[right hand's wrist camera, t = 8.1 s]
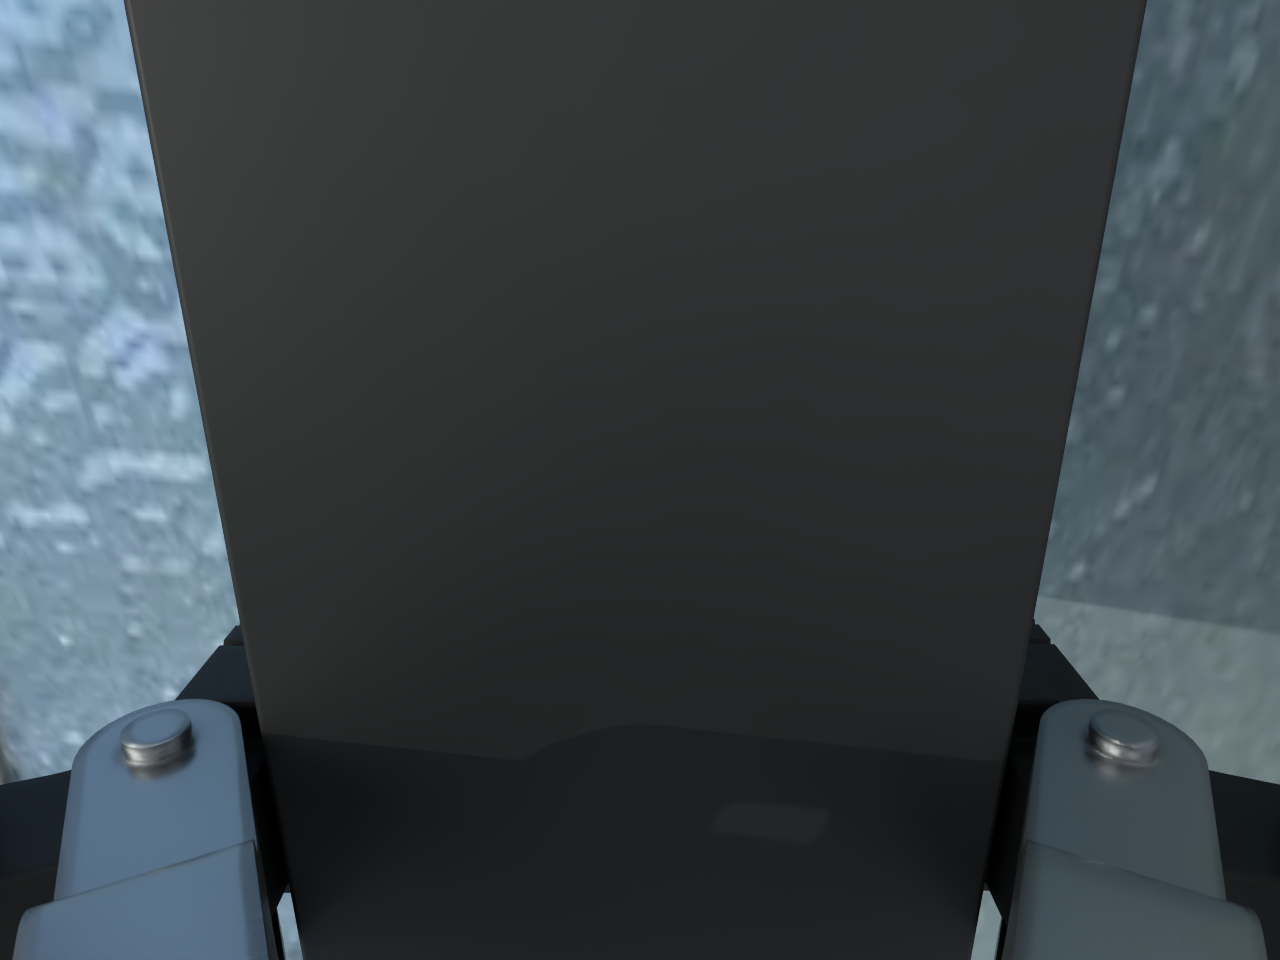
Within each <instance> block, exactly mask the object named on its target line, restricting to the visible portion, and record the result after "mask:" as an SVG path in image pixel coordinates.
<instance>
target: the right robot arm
mask: <svg viewBox="0 0 1280 960" xmlns="http://www.w3.org/2000/svg"><path fill="white" fill-rule="evenodd" d="M983 891H990V893H991V895H992V897H993V899H994V901H995V904H996V906H997V908H998V910H999V912H1000V914H1001V922H1000V927H999V932H998V937H997V944H996V950H995V957H994V960H1280V785H1279V784H1274V783H1269V782H1264V781H1259V780H1254V779H1249V778H1244V777H1239V776H1234V775H1229V774H1224V773H1219V772H1215V771H1211V770H1209V769H1208V764H1207V761H1206V757H1205V756H1204V754H1203V752H1202V751H1201V749H1200V748H1199V747H1198V746H1197V744H1196V743H1195V742H1194V741H1193V740H1192V739H1191V738H1190V737H1189V736H1187V735H1186V734H1185V733H1184V732H1183V731H1181V730H1180V729H1178V728H1177V727H1175V726H1174V725H1172V724H1171V723H1169V722H1167V721H1165V720H1163V719H1162V718H1160V717H1157V716H1155V715H1153V714H1151V713H1149V712H1146V711H1143V710H1141V709H1138V708H1135V707H1132V706H1128V705H1125V704H1121V703H1117V702H1111V701H1106V700H1099V699H1098V697H1097V696H1096V695H1095V694H1094V692H1093V691H1092V690H1091V689H1090V687H1089V686H1088V685H1087V684H1086V682H1085V681H1084V680H1083V679H1082V678H1081V676H1080V675H1079V674H1078V673H1077V671H1076V670H1075V669H1074V668H1073V666H1072V665H1071V664H1070V663H1069V661H1068V660H1067V659H1066V658H1065V657H1064V655H1063V654H1062V653H1061V652H1060V650H1059V649H1058V648H1057V647H1056V645H1055V644H1051V643H1050V638H1049V637H1048V636H1047V634H1046V633H1045V632H1044V631H1043V629H1042V628H1041V627H1040V626H1039V624H1035V620H1034V618H1033V623H1032V628H1031V634H1030V639H1029V644H1028V650H1027V655H1026V661H1025V666H1024V672H1023V677H1022V683H1021V688H1020V693H1019V699H1018V704H1017V710H1016V715H1015V721H1014V726H1013V731H1012V737H1011V742H1010V748H1009V753H1008V759H1007V764H1006V770H1005V775H1004V780H1003V786H1002V791H1001V797H1000V802H999V808H998V813H997V819H996V824H995V829H994V835H993V840H992V846H991V851H990V857H989V862H988V868H987V873H986V878H985V884H984V889H983ZM283 893H291V891H290V886H289V881H288V875H287V870H286V865H285V859H284V854H283V849H282V843H281V838H280V833H279V827H278V822H277V817H276V811H275V806H274V800H273V795H272V790H271V784H270V779H269V774H268V768H267V763H266V758H265V752H264V747H263V742H262V736H261V731H260V726H259V720H258V715H257V710H256V704H255V699H254V694H253V688H252V683H251V678H250V672H249V667H248V662H247V656H246V651H245V646H244V640H243V635H242V629H241V624H240V625H239V626H235V627H234V629H233V630H232V631H231V632H230V633H229V635H228V636H227V637H226V638H225V640H224V645H223V646H219V647H218V648H217V649H216V651H215V652H214V653H213V654H212V655H211V657H210V658H209V659H208V660H207V662H206V663H205V664H204V665H203V666H202V668H201V669H200V670H199V671H198V672H197V674H196V675H195V676H194V677H193V679H192V680H191V681H190V682H189V683H188V685H187V686H186V687H185V688H184V690H183V691H182V692H181V693H180V694H179V696H178V697H177V698H176V699H175V700H174V701H168V702H163V703H159V704H155V705H152V706H148V707H145V708H142V709H139V710H137V711H134V712H131V713H129V714H127V715H125V716H123V717H120V718H118V719H117V720H115V721H113V722H111V723H110V724H108V725H106V726H105V727H103V728H102V729H100V730H99V731H98V732H96V733H95V734H94V735H93V736H92V737H90V738H89V739H88V740H87V741H86V742H85V743H84V745H83V746H82V747H81V748H80V749H79V751H78V753H77V754H76V756H75V758H74V761H73V765H72V770H69V771H65V772H61V773H57V774H53V775H48V776H43V777H38V778H33V779H28V780H23V781H18V782H13V783H8V784H3V785H0V960H286V956H285V949H284V943H283V936H282V931H281V926H280V921H279V916H278V911H277V906H278V904H279V902H280V900H281V898H282V895H283Z"/></svg>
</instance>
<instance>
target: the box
mask: <svg viewBox="0 0 1280 960" xmlns="http://www.w3.org/2000/svg"><path fill="white" fill-rule="evenodd" d="M1146 2H1147V0H124V4H125V10H126V15H127V20H128V26H129V31H130V36H131V42H132V47H133V52H134V58H135V63H136V68H137V74H138V79H139V84H140V90H141V95H142V100H143V106H144V111H145V117H146V122H147V127H148V133H149V138H150V143H151V149H152V154H153V159H154V165H155V170H156V175H157V181H158V186H159V191H160V197H161V202H162V207H163V213H164V218H165V223H166V229H167V234H168V239H169V245H170V250H171V255H172V261H173V266H174V271H175V277H176V282H177V288H178V293H179V298H180V304H181V309H182V314H183V320H184V325H185V330H186V336H187V341H188V346H189V352H190V357H191V362H192V368H193V373H194V378H195V384H196V389H197V394H198V400H199V405H200V410H201V416H202V421H203V426H204V432H205V437H206V442H207V448H208V453H209V459H210V464H211V469H212V475H213V480H214V485H215V491H216V496H217V501H218V507H219V512H220V517H221V523H222V528H223V533H224V539H225V544H226V549H227V555H228V560H229V565H230V571H231V576H232V581H233V587H234V592H235V597H236V603H237V608H238V613H239V619H240V624H241V629H242V635H243V640H244V646H245V651H246V656H247V662H248V667H249V672H250V678H251V683H252V688H253V694H254V699H255V704H256V710H257V715H258V720H259V726H260V731H261V736H262V742H263V747H264V752H265V758H266V763H267V768H268V774H269V779H270V784H271V790H272V795H273V800H274V806H275V811H276V817H277V822H278V827H279V833H280V838H281V843H282V849H283V854H284V859H285V865H286V870H287V875H288V881H289V886H290V891H291V897H292V902H293V907H294V913H295V918H296V923H297V929H298V934H299V939H300V945H301V950H302V955H303V960H971V955H972V949H973V944H974V938H975V933H976V927H977V922H978V916H979V911H980V906H981V900H982V895H983V889H984V884H985V878H986V873H987V868H988V862H989V857H990V851H991V846H992V840H993V835H994V829H995V824H996V819H997V813H998V808H999V802H1000V797H1001V791H1002V786H1003V780H1004V775H1005V770H1006V764H1007V759H1008V753H1009V748H1010V742H1011V737H1012V731H1013V726H1014V721H1015V715H1016V710H1017V704H1018V699H1019V693H1020V688H1021V683H1022V677H1023V672H1024V666H1025V661H1026V655H1027V650H1028V644H1029V639H1030V634H1031V628H1032V623H1033V617H1034V612H1035V606H1036V601H1037V595H1038V590H1039V585H1040V579H1041V574H1042V568H1043V563H1044V557H1045V552H1046V546H1047V541H1048V536H1049V530H1050V525H1051V519H1052V514H1053V508H1054V503H1055V498H1056V492H1057V487H1058V481H1059V476H1060V470H1061V465H1062V459H1063V454H1064V449H1065V443H1066V438H1067V432H1068V427H1069V421H1070V416H1071V410H1072V405H1073V400H1074V394H1075V389H1076V383H1077V378H1078V372H1079V367H1080V361H1081V356H1082V351H1083V345H1084V340H1085V334H1086V329H1087V323H1088V318H1089V313H1090V307H1091V302H1092V296H1093V291H1094V285H1095V280H1096V274H1097V269H1098V264H1099V258H1100V253H1101V247H1102V242H1103V236H1104V231H1105V225H1106V220H1107V215H1108V209H1109V204H1110V198H1111V193H1112V187H1113V182H1114V176H1115V171H1116V166H1117V160H1118V155H1119V149H1120V144H1121V138H1122V133H1123V128H1124V122H1125V117H1126V111H1127V106H1128V100H1129V95H1130V89H1131V84H1132V79H1133V73H1134V68H1135V62H1136V57H1137V51H1138V46H1139V40H1140V35H1141V30H1142V24H1143V19H1144V13H1145V8H1146Z"/></svg>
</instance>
